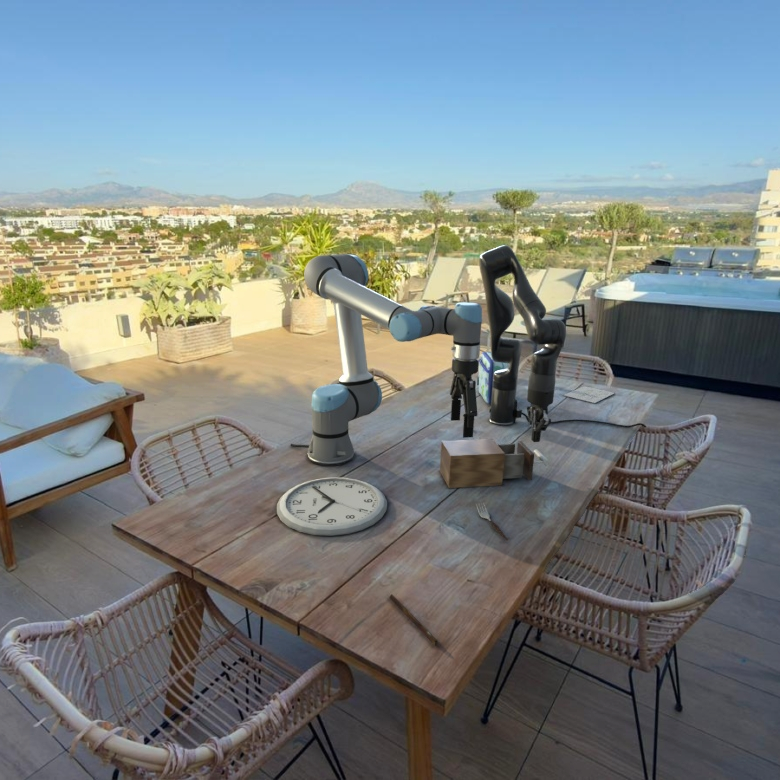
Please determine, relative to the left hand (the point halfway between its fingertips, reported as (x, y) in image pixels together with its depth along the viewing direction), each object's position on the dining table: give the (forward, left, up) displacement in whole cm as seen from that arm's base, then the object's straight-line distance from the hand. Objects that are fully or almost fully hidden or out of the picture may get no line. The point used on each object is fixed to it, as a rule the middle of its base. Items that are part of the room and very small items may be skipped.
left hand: (461, 428), depth 154 cm
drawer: (+15, +7, -16) cm, 23 cm away
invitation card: (+41, +105, -16) cm, 114 cm away
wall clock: (-29, -28, -16) cm, 44 cm away
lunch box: (-1, +82, -16) cm, 83 cm away
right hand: (+21, +11, -5) cm, 24 cm away
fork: (+13, -23, -16) cm, 31 cm away
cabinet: (+3, +2, -16) cm, 17 cm away
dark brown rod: (+3, -63, -16) cm, 65 cm away
